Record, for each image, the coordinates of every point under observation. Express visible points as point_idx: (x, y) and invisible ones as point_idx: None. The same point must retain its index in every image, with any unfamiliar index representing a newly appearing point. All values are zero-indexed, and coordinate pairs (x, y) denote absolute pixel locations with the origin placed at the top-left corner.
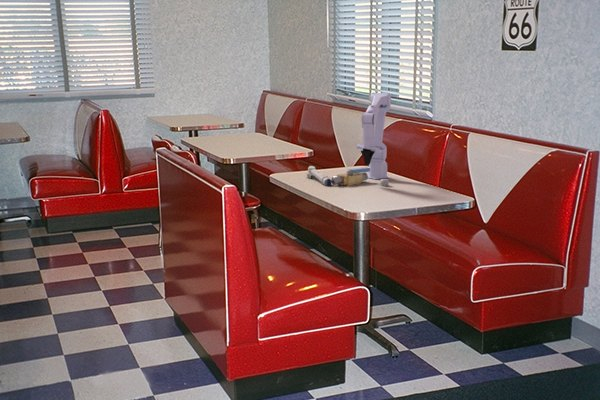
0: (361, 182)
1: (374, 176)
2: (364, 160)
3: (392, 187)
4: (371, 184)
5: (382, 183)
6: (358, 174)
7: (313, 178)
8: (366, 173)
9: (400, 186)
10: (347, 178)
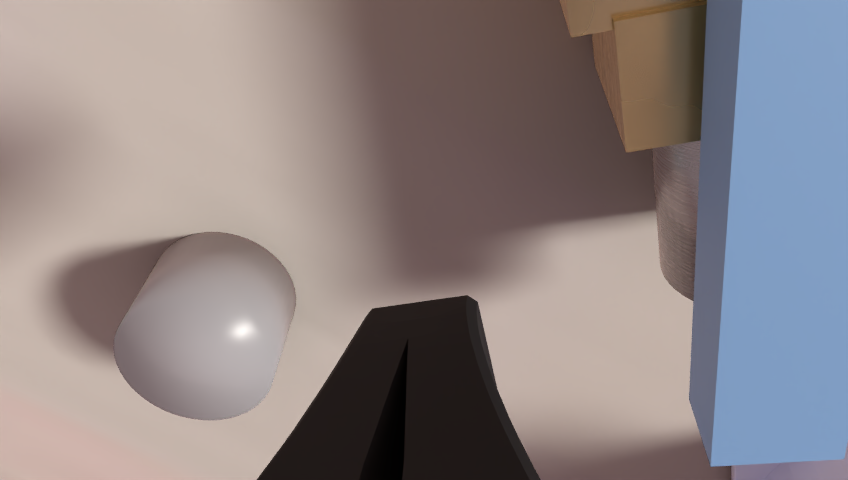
0: (593, 37)
1: (808, 469)
2: (458, 389)
3: (47, 319)
4: (395, 153)
5: (164, 266)
6: (646, 11)
7: None
8: None
9: (105, 443)
10: None
